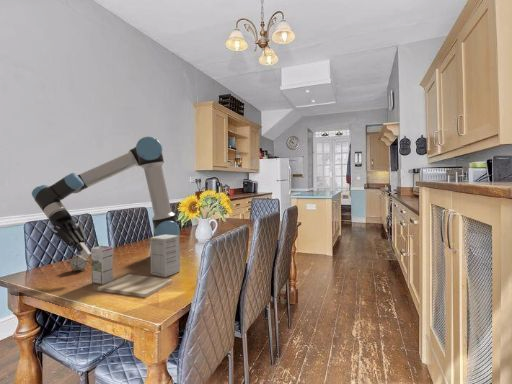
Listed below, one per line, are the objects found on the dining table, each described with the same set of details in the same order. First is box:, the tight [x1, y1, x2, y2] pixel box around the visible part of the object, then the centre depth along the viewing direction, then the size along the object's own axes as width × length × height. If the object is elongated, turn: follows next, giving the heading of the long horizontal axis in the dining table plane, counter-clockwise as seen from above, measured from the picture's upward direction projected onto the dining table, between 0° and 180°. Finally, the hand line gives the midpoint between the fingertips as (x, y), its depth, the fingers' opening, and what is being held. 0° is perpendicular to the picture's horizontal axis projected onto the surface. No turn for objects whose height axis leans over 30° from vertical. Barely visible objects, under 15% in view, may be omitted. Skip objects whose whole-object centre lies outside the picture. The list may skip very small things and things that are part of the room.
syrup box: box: [90, 245, 114, 285], centre depth 114 cm, size 6×6×14 cm
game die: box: [66, 253, 91, 273], centre depth 129 cm, size 9×8×10 cm
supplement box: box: [149, 234, 181, 278], centre depth 125 cm, size 10×9×17 cm
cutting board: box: [97, 273, 173, 299], centre depth 109 cm, size 22×16×1 cm
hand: (88, 255), depth 116 cm, fingers closed
